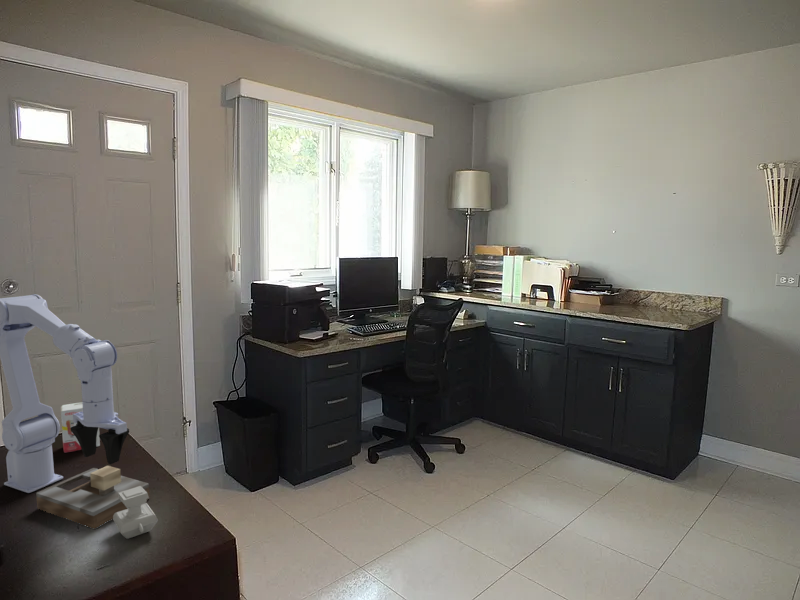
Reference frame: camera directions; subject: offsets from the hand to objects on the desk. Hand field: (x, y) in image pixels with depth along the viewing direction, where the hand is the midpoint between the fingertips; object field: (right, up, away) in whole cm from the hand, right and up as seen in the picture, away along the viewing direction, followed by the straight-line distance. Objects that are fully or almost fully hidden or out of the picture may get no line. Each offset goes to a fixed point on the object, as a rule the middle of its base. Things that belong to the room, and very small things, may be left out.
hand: (101, 458), depth 112 cm
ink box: (-23, -6, +30) cm, 38 cm away
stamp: (+12, -12, -10) cm, 19 cm away
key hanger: (+2, -9, -1) cm, 9 cm away
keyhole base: (-2, -10, 0) cm, 10 cm away
